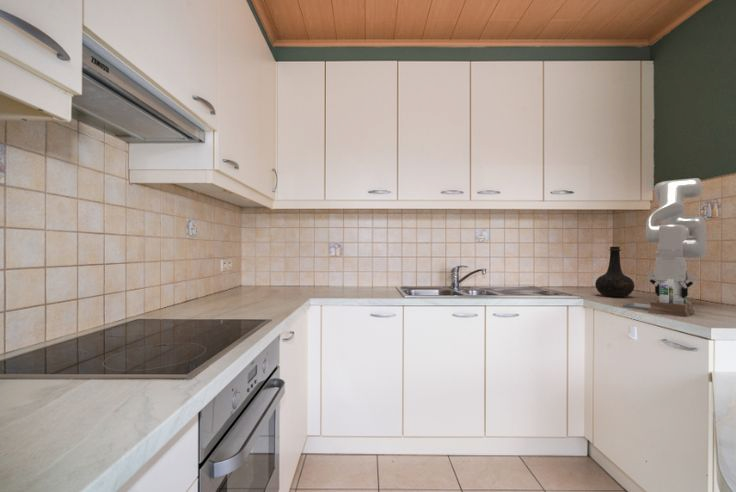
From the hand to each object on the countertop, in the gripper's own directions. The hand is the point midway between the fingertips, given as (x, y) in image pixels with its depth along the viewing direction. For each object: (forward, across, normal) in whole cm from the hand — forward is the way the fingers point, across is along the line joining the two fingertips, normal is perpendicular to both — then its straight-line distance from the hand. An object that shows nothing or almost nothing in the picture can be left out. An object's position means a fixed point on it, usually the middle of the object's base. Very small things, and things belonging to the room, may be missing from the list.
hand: (671, 296), depth 147 cm
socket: (+7, 0, 0) cm, 7 cm away
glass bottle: (+7, -34, +39) cm, 52 cm away
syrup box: (+7, 0, 0) cm, 7 cm away
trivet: (+7, -12, +8) cm, 16 cm away
